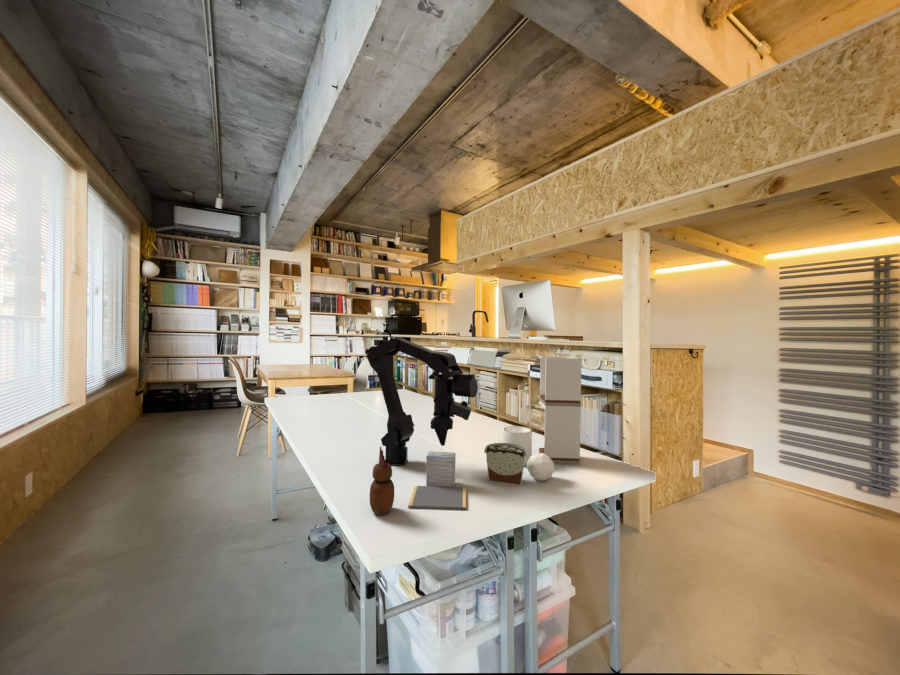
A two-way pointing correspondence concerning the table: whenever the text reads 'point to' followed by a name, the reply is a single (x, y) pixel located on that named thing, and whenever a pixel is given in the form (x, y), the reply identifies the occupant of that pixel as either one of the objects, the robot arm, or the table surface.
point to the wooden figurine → (382, 487)
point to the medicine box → (440, 469)
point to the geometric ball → (540, 466)
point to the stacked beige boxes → (561, 408)
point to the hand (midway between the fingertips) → (442, 445)
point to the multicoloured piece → (505, 463)
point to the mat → (438, 498)
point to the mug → (518, 438)
